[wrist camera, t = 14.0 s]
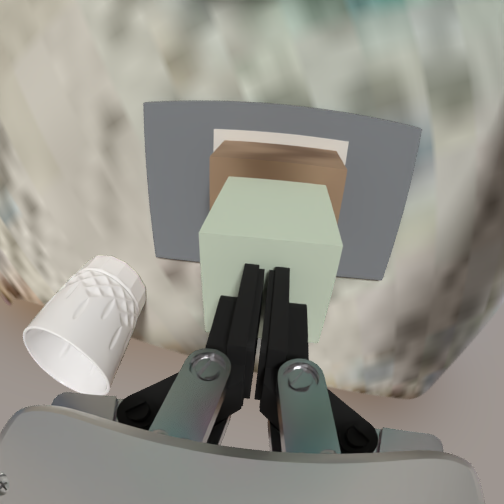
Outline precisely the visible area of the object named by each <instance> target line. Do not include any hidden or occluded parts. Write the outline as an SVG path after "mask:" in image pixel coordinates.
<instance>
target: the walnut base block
mask: <svg viewBox="0 0 504 504" xmlns="http://www.w3.org/2000/svg"><path fill="white" fill-rule="evenodd" d="M346 175H347V168H346V167H345V165H344V163H343V161H342V160H341V158H340V156H339V154H338V153H337V151H333V150H326V149H318V148H310V147H302V146H292V145H283V144H272V143H260V142H246V141H230V140H224V141H223V142H222V143H221V145H220V146H219V147H218V148H217V149H216V150H215V151H214V152H213V153H212V155H211V156H210V210H211V208H212V206H213V204H214V202H215V201H216V199H217V197H218V195H219V193H220V191H221V190H222V188H223V186H224V184H225V182H226V180H227V179H228V177H229V176H230V177H245V178H258V179H270V180H281V181H292V182H302V183H311V184H320V185H326V187H327V191H328V194H329V197H330V201H331V204H332V208H333V211H334V215H335V218H336V222H337V224H338V219H339V214H340V209H341V203H342V198H343V193H344V187H345V181H346Z"/></svg>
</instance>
